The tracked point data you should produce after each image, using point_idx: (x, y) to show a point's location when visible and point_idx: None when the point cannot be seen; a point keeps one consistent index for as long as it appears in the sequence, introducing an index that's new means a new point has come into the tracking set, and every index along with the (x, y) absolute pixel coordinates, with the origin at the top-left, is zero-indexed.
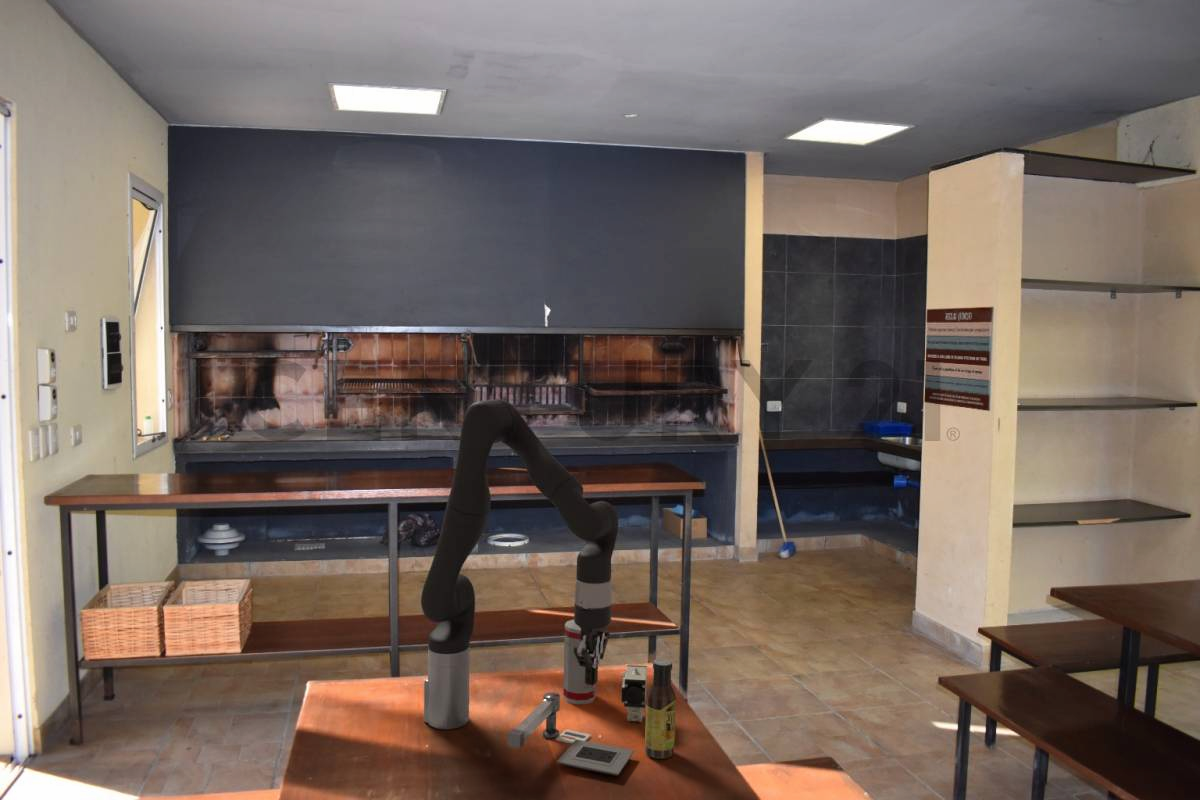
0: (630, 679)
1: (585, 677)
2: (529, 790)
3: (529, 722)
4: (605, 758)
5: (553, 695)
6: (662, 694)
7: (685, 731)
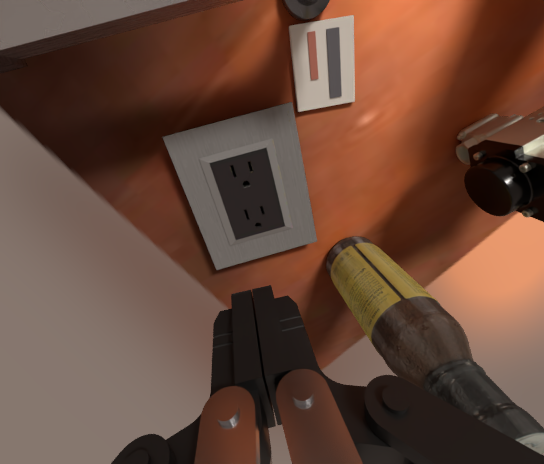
0: None
1: (232, 318)
2: (39, 143)
3: (74, 17)
4: (247, 222)
5: None
6: (402, 377)
7: (449, 246)
